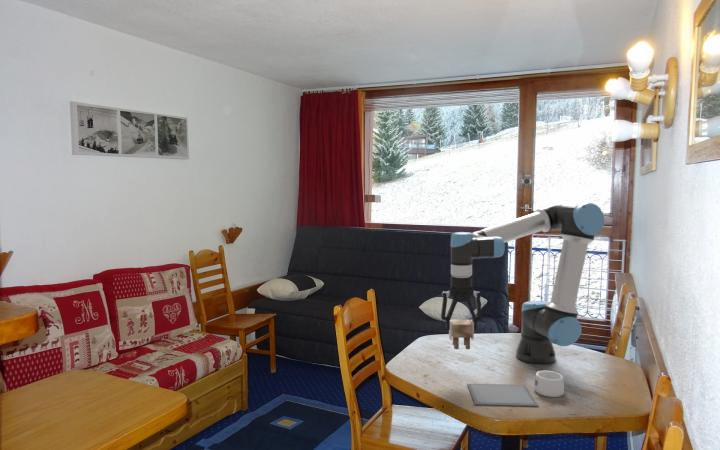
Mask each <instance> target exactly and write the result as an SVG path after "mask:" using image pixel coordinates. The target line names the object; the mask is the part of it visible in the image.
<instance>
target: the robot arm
mask: <svg viewBox="0 0 720 450" xmlns="http://www.w3.org/2000/svg"><path fill="white" fill-rule="evenodd" d="M604 226H605V215H604V212H603V211H602V209H601V207H599V206H598V205H597V204H595V203H593V202H587V201H572V200H571V201H570V200H563V201H560V202H559V201H558V202H555V203H552V204H550V205H547V206H544V207H540V208H538V209H535V212H532V213H530V214H527V215H524V216H521V217H517V218H514V219H512V220H509V221H505V222H503V223H499V224H496V225H492V226H489V227H486V228H484V229H481V230H476V231H473V232H469V231H468V232H467V231H465V232H464V231H460V232H459V231H457V232H453V233H452V234H451V236H450V275H451V276H450V287H449V288H450V289H449V290H447V291H444V290H443V291H442V292H441V295H442V303H441V304H442V306H441V311H440V312H441V313H440V318H441V320H442V321H445V329H446V330H447V331H448V338H449V340H452V341H453V337H452V321H451V318H452V316H453V314H454V311H455V309H456V306H457V304H458V303H460V302H462V303H466V305H467V307H468V310H469V312H470V315H471V318H472V319H469V320H470V321H471V323H472V325H473V338H470V340H474V338H475V335H474V334H475V333H474V331H477V329H478V321H479V320H480V321H481V320H482V319H483V315H482V314H483V313H482V306H481V296H482V293H481V292H480V291H479V290H477V291H476V290H474V289H473V276H472V275H473V260H474V259H495V258H501V257H502V256H503V255H504V254H505V250H506V245H505V243H508V242H511V241H513V240H518V239H520V238H523V237H526V236H531V235H532V234H536V233H539V232H543V233H547V232H550V231H560V234H559V235H560V237H562V239H563V241H562V246H561V249H560V256H559V261H558V265H557V268H556V270H557V271H556V273H555V274H556V275H555V279H554V284H553V290H552V293H551V299H550V301H543V300H542V301H541V300H539V301H538V300H536V301H535V300H533V301H532V300H530V301H525V302H523V304H522V305H521V311H520V312H521V321H520V322H521V328H520V329H521V331H520V333H521V335H520V340H519V342H518V345H517V347H516V349H515V350H516V351H515V357H516V358H517V359H518V360H521V361H523V362H526V363H531V364H535V365H536V364H537V365H538V364H539V365H545V364H547V365H548V364H552V363H554V362H555V361H556V351H555V347H554V345H556V346H559V347H568V346H571V345H573V344H574V343H576V342H577V341H578V340H579V338H580V336H581V334H582V324H580V321H579V320H578V314H579V311H578V310H577V308H576V302H577V299H578V293H579V289H580V288H579V287H580V286H581V285H580V283H581V278H582V274H583V270H584V266H585V265H584V264H585V261H586V257H587V256H586V255H587V250H588V245H589V244H591V243H592V242H594V239H595V236H596V235H597V234H600V232H601V231H602V229H604ZM450 296H451V298H452V300H451V303H450V305H449V306H450V307H449V309H448V311H447V306H448V305H447V303H448V298H449V297H450ZM472 296H474V298H475V299H474V300H475V306H476V313H475V311H474V307H473V306H472V303H471V300H470V299H471V297H472ZM446 312H447V313H446Z"/></svg>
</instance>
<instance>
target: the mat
mask: <svg viewBox="0 0 720 450" xmlns="http://www.w3.org/2000/svg"><path fill="white" fill-rule="evenodd" d="M466 384H467V387H468V390H469V393H470V395H471V398H472V401H473V404H474V405H475V406H491V407H493V406H494V407H500V406H502V407H531V408H533V407H534V408H537V407H538V408H539V404H538V402H537V401H536V399H535V398H534V396H533V395H532V393H531V392H530V391H529V389H528V387H527V386H526V385H525V384H499V383H498V384H497V383H495V384H493V383H491V384H490V383H466Z"/></svg>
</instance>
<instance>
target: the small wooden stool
mask: <svg viewBox="0 0 720 450" xmlns="http://www.w3.org/2000/svg"><path fill="white" fill-rule="evenodd" d="M450 320H451V321H452V346H453V347H454V348H453V349H454V350H459V349H460V344H459V343H460V339H461V338H463V346H464V347H465V349H466V350H470V349H471V338H473V325H472V323H471V321H470V320H471V319H468V318H467V319H463V318H462V319H457V318H456V319H455V318H454V319H453V318H452V319H450Z"/></svg>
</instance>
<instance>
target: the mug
mask: <svg viewBox="0 0 720 450" xmlns="http://www.w3.org/2000/svg"><path fill="white" fill-rule="evenodd" d="M533 389H534V391H535V392H536V393H537V394H538V395H541V396H544V397H548V398H559V397H562V396H563V395H564V394H565V385H564V376H563V375H562V374H561V373H559V372H557V371H553V370H538V371H537V372H536V373H535V378H534V385H533Z"/></svg>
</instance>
